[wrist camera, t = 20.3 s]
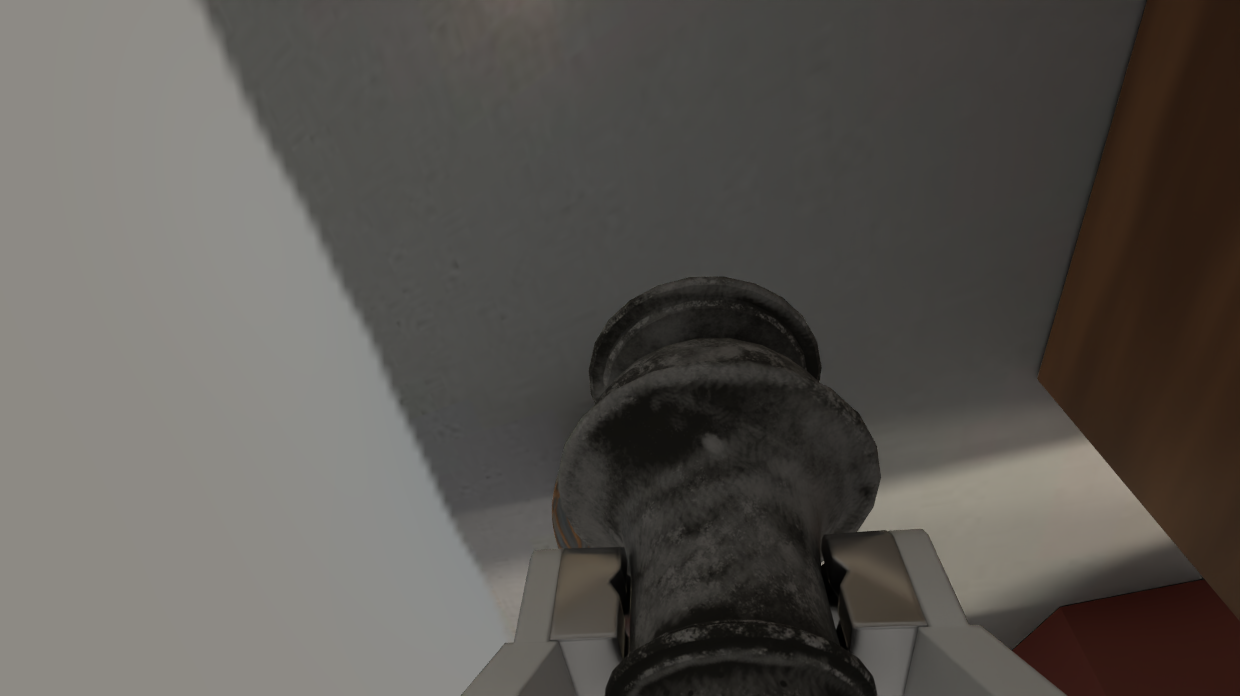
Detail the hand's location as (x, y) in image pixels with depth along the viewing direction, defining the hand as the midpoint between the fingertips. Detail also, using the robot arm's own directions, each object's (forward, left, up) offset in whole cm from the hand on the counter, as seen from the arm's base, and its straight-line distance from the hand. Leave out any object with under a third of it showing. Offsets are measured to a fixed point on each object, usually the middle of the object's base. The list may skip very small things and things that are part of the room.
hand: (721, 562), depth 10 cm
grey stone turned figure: (0, 0, -5) cm, 5 cm away
